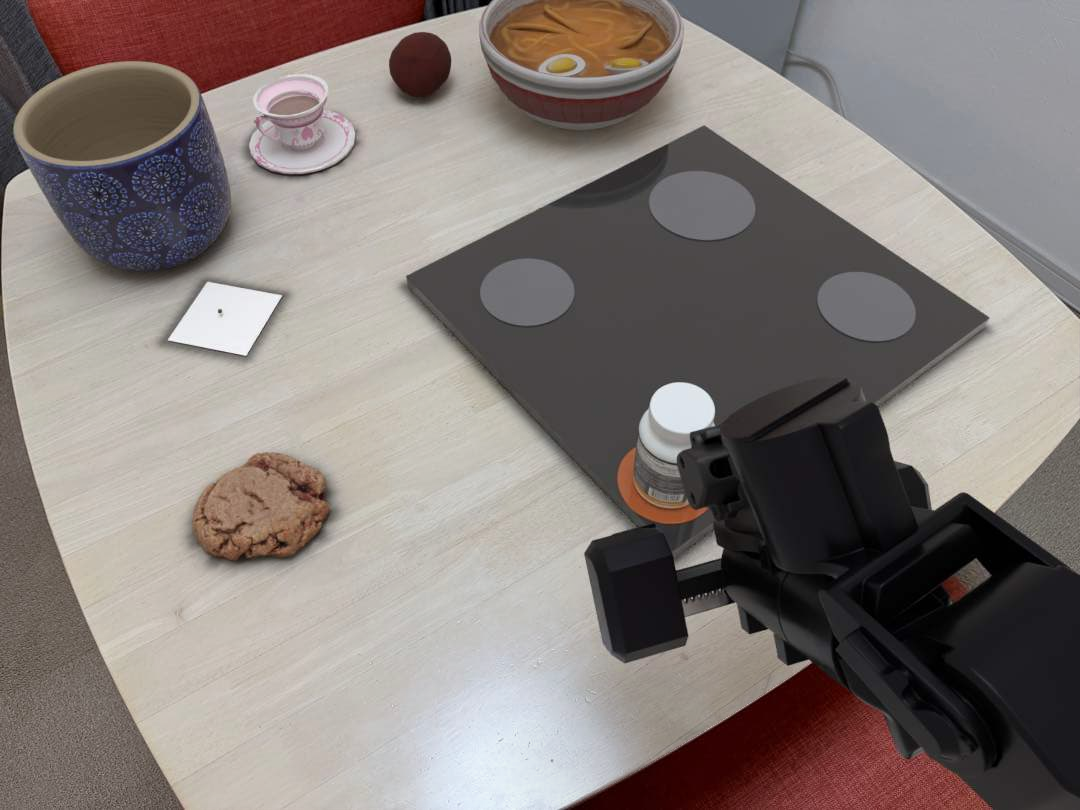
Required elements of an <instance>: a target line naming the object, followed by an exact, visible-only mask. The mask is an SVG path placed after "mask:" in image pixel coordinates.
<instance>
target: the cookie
mask: <svg viewBox="0 0 1080 810" xmlns="http://www.w3.org/2000/svg"><path fill="white" fill-rule="evenodd" d="M326 496H327V480H326V477H325V475H324V474H323V473H322V472H321V470H318V469H316V468H314V467H312V466H310V465H307V464H306V463H303V462H300V461H299V459H297V458H295V457H293V456H290V455H288V454H285V453H282V452H281V453H280V452H267V451H266V452H265V451H264V452H262V453H260V452H256V453H255V454H252V455H251V457H249V458H248V460H247V461H246V462H245V463H244V464H243V465H241V466H238V467H235V468H232V470H229V471H228V472H226V473H224V474H222V475H221V476H220V477H219V478H218V479H217V480H216V482H213V483H211V484H208V486H206V487H205V489H204V490H203V491H202V493H201V494H200V495H199V496H198V499H197V500H196V502H195V504H194V510H193V515H192V522H191V523H192V530H193V533H194V536H195V538H196V540H197V541H198V543H199V544H200V545H201V547H202V548H203V549H204V550H205V551H206V552H207V553H208V554H211V555H212V556H213V557H214V556H215V557H220V558H226V559H227V560H229V561H238V559H239V557H241V556H243V555H244V558H245V559H246V560H247V559H249V558H253V557H255V558H257V557H259V556H267V555H268V556H269V555H272V556H275V557H277V558H283V557H289V556H293V555H295V554H296V553H297V551H299V550H300V549H302V548H304V547H305V546H306V544H307V543H308V542H309V541H311V540H312V539H313V538H315V536H316V535H317V533H319V532H320V530H321V529H322V527H323V525H324V522H323V521H324V520H326V519H327V515H328V514H330V511H331V507H330V505H329V503H328V502H327V501H326V499H325V497H326Z"/></svg>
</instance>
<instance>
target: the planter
mask: <svg viewBox="0 0 1080 810" xmlns="http://www.w3.org/2000/svg"><path fill="white" fill-rule="evenodd" d="M12 129H13V130H12V131H13V138H14V142H15V143H16V146H17V148H18V150H19V152H20V155H21V156H22V158H23V160H24V162H25V164H26V166H27V167H28V169H29V171H30V173H31V174H32V176H33V178H34V181H35V182H36V184H37V185H38V187H39V189H40V190H41V192H42V195H43V196H44V197H45V199H46V201H47V202H48V204H49V206H50V208H51V209H52V211H53V212H54V214H55V216H56V217H57V219H58V220H59V222H60V223H61V224H62V226H63V227H64V229H65V230H66V232H67V233H68V234H69V236H70V237H71V238H72V240H73V241H74V242H75V243H76V244H77V245H78V246H79V247H80V248H81V249H82V250H83V251H84V252H85V253H87V254H88V255H90V256H91V257H93V258H94V259H97V260H98V261H100V262H102V263H104V264H106V265H109V266H111V267H114V268H119V269H122V270H128V271H134V272H153V271H154V272H156V271H161V270H162V271H163V270H166V269H171V268H173V267H177V266H180V265H183V264H184V263H187V262H189V261H192V260H194V259H196V257H198V256H199V255H201V254H202V253H204V252H206V250H207V249H209V248H210V247H211V246H212V245H213V244H214V243H215V242H216V240H217V239H218V237H219V236H220V235H221V233H222V232H223V229H224V228H225V226H226V224H227V221H228V218H229V215H230V211H231V206H232V196H231V195H232V193H231V192H232V191H231V186H230V185H231V184H230V181H229V175H228V171H227V168H226V164H225V161H224V156H223V154H222V150H221V146H220V143H219V141H218V137H217V134H216V132H215V131H216V130H215V129H214V125H213V123H212V120H211V117H210V115H209V111H208V109H207V106H206V103H205V100H204V98H203V96H202V93H201V91H200V89H199V87H198V85H197V84H196V82H195V81H194V80H193V79H192V78H191V77H190V76H189V75H187V74H186V73H184V72H183V71H181V70H179V69H177V68H174V67H172V66H169V65H166V64H163V63H162V64H161V63H157V62H152V61H151V62H150V61H138V60H137V61H136V60H135V61H134V60H133V61H132V60H128V61H116V62H107V63H102V64H97V65H92V66H88V67H85V68H82V69H79V70H75V71H72V72H71V73H68V74H66V75H64V76H61V77H59V78H56V79H54V80H53V81H52V82H50V83H48V84H46V85H45V86H43V87H42V88H40V89H39V90H38V91H36V92H35V93H33V95H32V96H30V97H29V98H28V99H27V100H26V101H25V103H24V104H23V105H22V107H21V108H20V109H19V111H18V112H17V114H16V116H15V119H14V123H13V128H12Z"/></svg>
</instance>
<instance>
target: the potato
mask: <svg viewBox="0 0 1080 810" xmlns="http://www.w3.org/2000/svg"><path fill="white" fill-rule="evenodd" d="M388 69H389V75H390V76H391V78H392V80H393V82H394V83H395V85H396V86H397V87H398V89H399V90H400V91H401V92H403V94H405V95H406V96H408V97H410V98H414V99H425V98H427V97H430V96H432V95H433V94H435V93H436V92H437V91H439V90H440V89H441V88H442V87H443V85H444V84H445V83H446V81H447V80H448V79H449V77H450V73H451V69H452V55H451V51H450V50H449V46H448V45H447V43H446V42H445V41H444V40H443V39H442V38H440V36H438V34H434V33H432V32H429V31H416V32H412V33H411V34H408V35H406V36H404V37H403V38H402V39H400V40H399V42H398V43H397V44H396V46H395V47H394V48H393V50H392V51H391V53H390V57H389V59H388Z"/></svg>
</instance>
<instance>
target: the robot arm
mask: <svg viewBox="0 0 1080 810" xmlns="http://www.w3.org/2000/svg"><path fill="white" fill-rule="evenodd" d="M889 437H890V436H889V434H888V430H887V427H886V425H885V421H884V419H883V416H882V414H881V410H880V409H879V406H877V405H875V404H874V403H873V402H866V399H865V397H864V394H863V391H862V389H861V387H860V385H859V384H858V383H856V382H852V381H849V380H848V377H847V376H832V377H824V378H818V379H813V380H809V381H805V382H801V383H798V384H794V385H791V386H788V387H785V388H782V389H779V390H777V391H775V392H772V393H770V394H767V395H765V396H763V397H761V398H759V399H756V400H754V401H752V402H750V403H749V404H747V405H745V406H743V407H742V408H740V409H739V410H737V411H736V412H734V413H733V414H731V415H730V416H729V417H728V418H727V419H726V420H725V421H723V422H722V423H720V424H719V425H717V426H713V427H709V428H705V429H701V430H697V431H693V432H690V442H691V448H689V449H686V450H683V451H681V452H680V453H679V454H678V455H677V467H678V470H679V474H680V477H681V480H682V483H683V487H684V490H685V493H686V497H687V500H688V503H689V504H690V506H691V507H692V508H693V509H694V510H698V509H702V508H709V509H710V510H711V511H712V513H713V516H714V518H715V520H713V527H714V529H713V531H714V537H715V542H716V545H717V546H719V547H721V548H722V553H721V557H719V558H715V559H712V560H709V561H706V562H705V561H704V562H702V563H698V564H695V565H691V566H686V567H684V568H680V569H676V564H675V558H673V554H672V552H671V549H670V547H669V545H668V542H667V540H666V538H665V536H664V533H663V532H661V531H660V530H659V529H657V528H656V526H655V523H652V524H648V525H645V526H641V527H637V526H636V527H634V528H629V529H626V530H622V531H619V532H615V533H613V534H611V535H607V536H604V537H600V538H596V539H592V540H591V542H590V543H589V544H588V546H587V548H586V550H585V551H584V552H583V556H584V560H585V565H586V570H587V575H588V579H589V584H590V590H591V593H592V594H591V595H592V598H593V603H594V607H595V613H596V618H597V623H598V628H599V631H600V636H601V641H602V644H603V646H604V647H605V649H606V650H607V651H608V653H609V654H610V655H611V656H612V657H614V658H615V659H617V660H618V661H619V662H621V663H623V664H628V663H632V662H635V661H638V660H642V659H645V658H648V657H649V658H650V657H652V656H655V655H659V654H663V653H666V652H669V651H672V650H677V649H679V648H683V647H686V645H687V642H688V639H689V632H688V626H687V621H686V620H687V619H686V618H688V617H691V616H694V615H698V614H701V613H704V612H708V611H711V610H716V609H720V608H722V607H726V606H729V605H733V604H736V606H737V610H738V611H737V612H738V617H739V622H740V627H741V629H742V630H744V632H746V633H747V634H748V635H753V634H757V633H760V632H764V631H766V630H769V631H770V632H772V634H773V640H774V645H775V651H776V655H777V659H778V660H780V661H781V662H782V663H783V664H784V665H786V667H789V666H793V665H795V664H799V663H803V662H806V661H809V662H811V663H812V664H813V665H815V666H816V667H817V668H819V669H820V670H821V671H822V672H824V673H825V674H827V676H829V677H830V678H832V679H833V680H834V681H835V682H837V683H838V684H839V685H840V686H842V687H843V688H845V690H847V691H848V692H850V693H851V694H852V695H853V696H854V697H856V698H857V699H859V700H860V701H861V702H863V703H864V704H866V705H868V706H870V707H872V708H873V709H875V710H878V711H879V712H881V714H882V715H883V718H884V721H885V724H886V725H887V728H888V730H889V733H890V735H891V738H892V741H893V743H894V746H895V748H896V751H897V752H898V753H899V755H900V756H901V758H903V759H905V760H911V759H913V758H915V757H917V756H918V755H920V754H922V753H924V754H925V755H926V757H928V758H929V759H931V760H932V761H935V762H937V763H938V764H939V765H940V766H942V767H943V768H945V769H946V770H948V771H950V772H951V773H953V774H955V775H956V776H958V777H959V778H960V779H961V780H962V781H963V782H964V783H965V784H966V785H967V786H968V787H969V788H970V789H971V790H972V791H973V792H974V793H975V794H977V796H978V797H979V798H980V799H981V800H982V801H983V802H984V803H985V804H986V805H987V806H989V807H990V808H991V810H1080V573H1079V572H1077V571H1075V570H1074V569H1073V568H1071V567H1070V566H1068V565H1067V564H1066V563H1065V562H1063V561H1062V560H1060V559H1059V558H1057V557H1056V556H1055V555H1053V554H1052V553H1051V552H1049V551H1048V550H1047V549H1045V548H1044V547H1042V546H1041V545H1040V544H1038V543H1037V542H1036V541H1034V540H1033V539H1031V538H1030V537H1028V536H1027V535H1026V534H1025V533H1023V532H1022V531H1020V530H1019V529H1017V528H1016V527H1015V526H1014V525H1012V524H1010V523H1009V522H1008V521H1007V520H1005V519H1004V518H1002V517H1001V516H1000V515H998V514H997V513H995V512H994V511H993V510H991V509H990V508H989V507H987V506H986V505H984V504H983V503H982V502H980V501H979V500H978V499H977V498H975V497H974V496H972V495H971V494H969V493H968V492H964V491H962V492H959V493H957V494H955V496H953V497H951V498H950V499H949V500H948V501H946V502H945V503H943V504H941V505H940V506H938V508H935V509H933V508H932V501H931V494H930V487H929V484H928V482H927V481H926V479H925V478H924V476H923V475H922V473H921V471H919V470H918V469H916V468H915V467H914V466H913V465H911V464H907V463H903V462H900V461H897V460H895V459H894V456H893V454H892V451H891V444H890V438H889ZM975 560H977V561H978V563H980V564H981V566H982V567H983V568H984V569H985V570H986V571H987V573H988V574H990V575H989V576H987V577H986V578H985V579H983V580H982V581H980V582H979V583H978V584H977V585H975V586H974V587H973V588H971V589H970V590H969V591H967V592H966V593H965V594H963V595H961V597H959V598H958V599H957V600H955V601H954V600H953V598H952V597H951V595H950V593H949V591H947V589H946V588H945V587H944V585H943V584H944V583H945V582H946V581H948V580H949V579H950V578H952V577H953V576H954V575H955V574H957V573H958V572H960V571H961V570H963V569H964V568H965V567H967V566H968V565H970V564H971V563H972V562H974V561H975Z"/></svg>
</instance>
